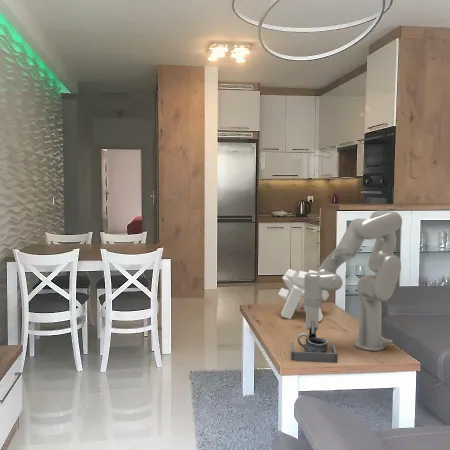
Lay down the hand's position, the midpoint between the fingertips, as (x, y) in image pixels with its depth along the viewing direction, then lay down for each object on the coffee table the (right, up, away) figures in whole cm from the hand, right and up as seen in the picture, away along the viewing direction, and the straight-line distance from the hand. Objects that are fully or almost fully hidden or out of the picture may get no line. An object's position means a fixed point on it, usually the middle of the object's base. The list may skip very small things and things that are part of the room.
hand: (312, 344), depth 208 cm
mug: (-1, -3, -8) cm, 8 cm away
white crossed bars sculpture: (+6, +1, +62) cm, 62 cm away
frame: (-1, -3, -7) cm, 7 cm away
